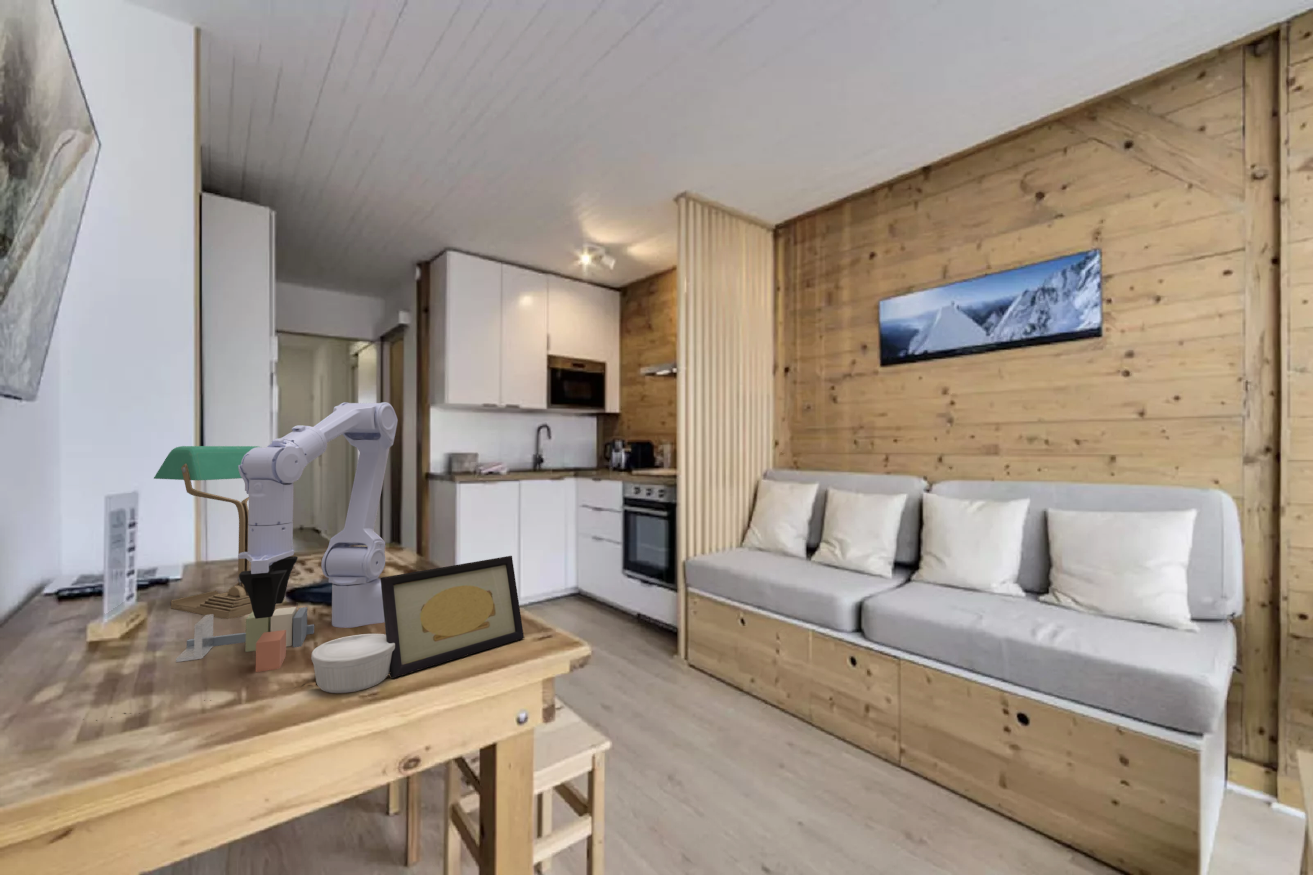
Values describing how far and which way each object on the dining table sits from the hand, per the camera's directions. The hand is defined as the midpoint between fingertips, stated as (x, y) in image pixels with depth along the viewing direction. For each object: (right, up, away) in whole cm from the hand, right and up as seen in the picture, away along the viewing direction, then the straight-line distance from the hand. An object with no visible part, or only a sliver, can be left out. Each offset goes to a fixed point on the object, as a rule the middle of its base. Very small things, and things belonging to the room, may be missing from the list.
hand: (269, 610), depth 84 cm
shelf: (-8, -10, +7) cm, 14 cm away
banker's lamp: (-34, -10, +32) cm, 48 cm away
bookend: (-15, -8, +4) cm, 17 cm away
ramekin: (+15, -10, -3) cm, 18 cm away
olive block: (-7, -9, +7) cm, 13 cm away
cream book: (-4, -9, +9) cm, 13 cm away
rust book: (0, -10, 0) cm, 10 cm away
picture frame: (+25, -10, +8) cm, 29 cm away
